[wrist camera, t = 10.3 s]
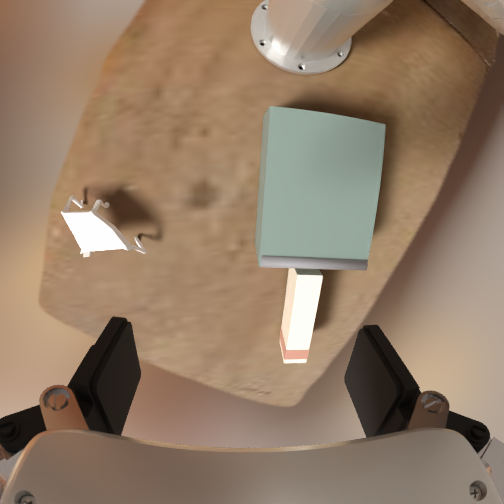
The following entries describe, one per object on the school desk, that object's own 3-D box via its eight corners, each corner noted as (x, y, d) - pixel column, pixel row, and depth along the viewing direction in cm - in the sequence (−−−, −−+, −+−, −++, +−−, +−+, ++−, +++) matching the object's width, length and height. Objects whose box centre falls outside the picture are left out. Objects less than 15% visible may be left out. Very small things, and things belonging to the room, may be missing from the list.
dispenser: (263, 115, 32) (270, 105, 24) (358, 127, 33) (388, 124, 25) (255, 243, 37) (259, 268, 30) (344, 247, 38) (367, 272, 30)
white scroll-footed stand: (74, 246, 36) (57, 259, 32) (77, 189, 34) (58, 196, 29) (149, 264, 38) (138, 280, 33) (157, 204, 35) (145, 213, 30)
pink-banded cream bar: (289, 258, 37) (297, 275, 32) (313, 259, 37) (323, 275, 33) (279, 340, 42) (283, 363, 37) (299, 340, 42) (306, 362, 37)
